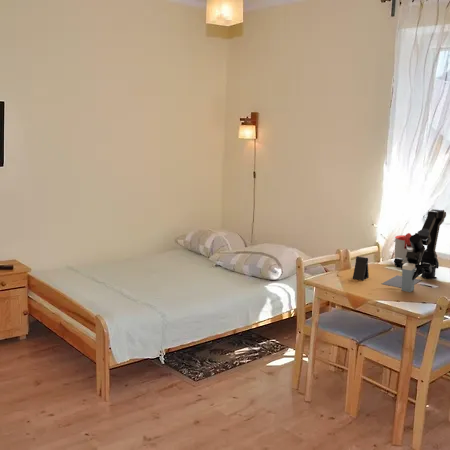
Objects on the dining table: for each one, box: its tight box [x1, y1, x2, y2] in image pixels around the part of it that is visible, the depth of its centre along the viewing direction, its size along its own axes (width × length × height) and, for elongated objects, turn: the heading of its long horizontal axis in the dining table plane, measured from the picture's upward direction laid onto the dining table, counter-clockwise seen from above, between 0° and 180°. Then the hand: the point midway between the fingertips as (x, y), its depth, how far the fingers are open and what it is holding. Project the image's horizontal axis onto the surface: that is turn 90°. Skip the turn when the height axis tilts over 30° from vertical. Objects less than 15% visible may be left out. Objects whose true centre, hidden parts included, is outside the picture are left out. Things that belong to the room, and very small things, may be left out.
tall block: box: [401, 263, 416, 293], centre depth 282 cm, size 5×5×14 cm
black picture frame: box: [352, 256, 370, 281], centre depth 305 cm, size 9×6×12 cm, turn 145°
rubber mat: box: [381, 274, 422, 289], centre depth 299 cm, size 22×14×1 cm, turn 141°
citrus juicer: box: [394, 232, 413, 262], centre depth 334 cm, size 16×17×20 cm
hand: (407, 278), depth 282 cm, fingers closed on tall block, 5 cm apart
